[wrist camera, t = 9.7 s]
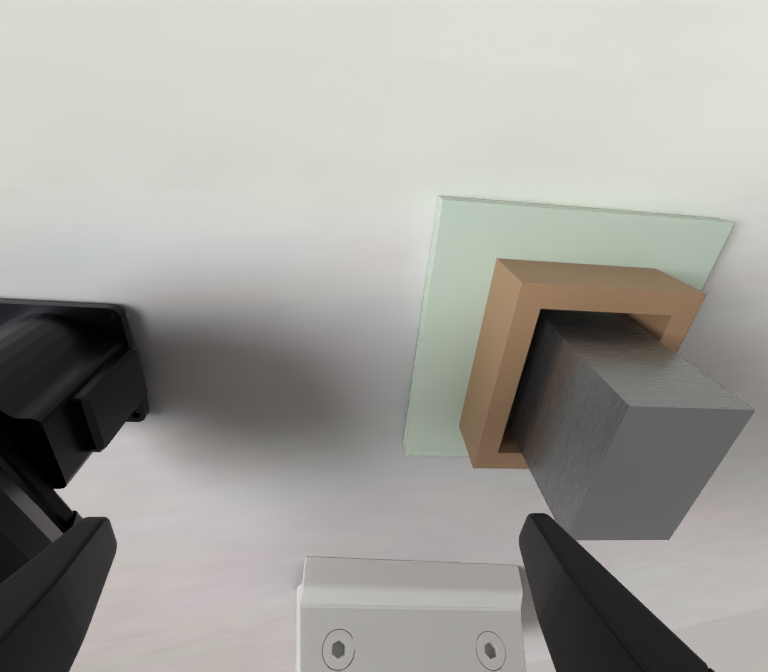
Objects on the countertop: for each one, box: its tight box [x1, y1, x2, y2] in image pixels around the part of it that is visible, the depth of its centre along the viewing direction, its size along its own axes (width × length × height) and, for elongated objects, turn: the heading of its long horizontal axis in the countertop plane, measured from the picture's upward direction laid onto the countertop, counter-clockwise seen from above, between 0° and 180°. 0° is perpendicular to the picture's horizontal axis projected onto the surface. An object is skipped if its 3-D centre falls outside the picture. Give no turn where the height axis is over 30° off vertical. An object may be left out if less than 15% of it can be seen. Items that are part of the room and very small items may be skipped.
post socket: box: [403, 196, 734, 469], centre depth 19 cm, size 13×14×4 cm
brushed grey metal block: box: [507, 309, 755, 540], centre depth 16 cm, size 4×6×8 cm, turn 175°
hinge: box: [296, 557, 526, 672], centre depth 27 cm, size 17×5×10 cm, turn 80°
